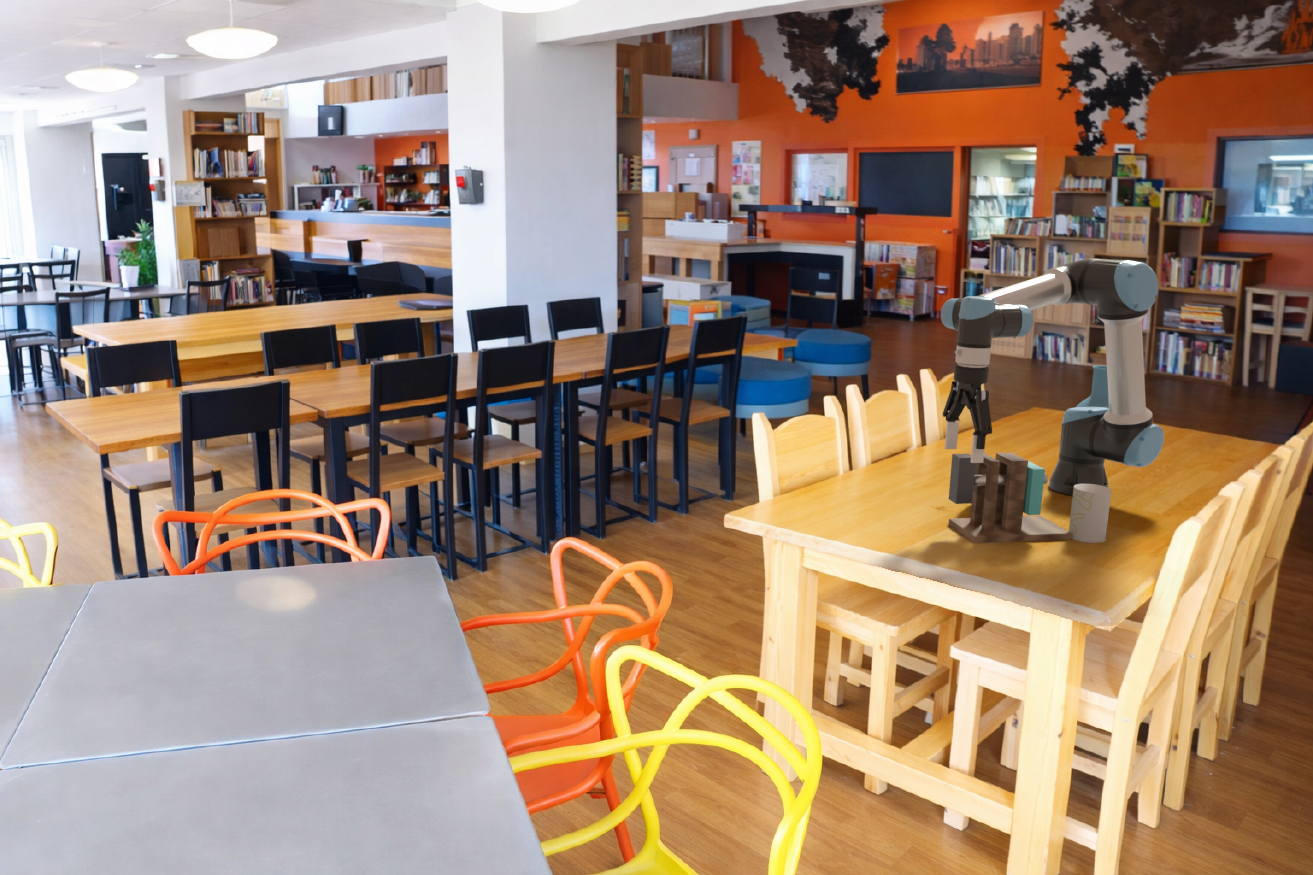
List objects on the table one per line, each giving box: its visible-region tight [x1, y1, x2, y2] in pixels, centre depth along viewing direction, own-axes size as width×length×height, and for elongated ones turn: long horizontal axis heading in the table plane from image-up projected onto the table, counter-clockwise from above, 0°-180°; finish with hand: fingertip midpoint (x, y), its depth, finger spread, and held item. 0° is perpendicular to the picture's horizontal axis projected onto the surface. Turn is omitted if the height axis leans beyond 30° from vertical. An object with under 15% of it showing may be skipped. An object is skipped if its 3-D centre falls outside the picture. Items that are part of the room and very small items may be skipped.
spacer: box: [1023, 460, 1046, 516], centre depth 247 cm, size 3×11×11 cm, turn 9°
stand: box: [948, 452, 1072, 544], centre depth 247 cm, size 24×14×18 cm, turn 100°
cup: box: [1068, 484, 1112, 544], centre depth 245 cm, size 8×8×12 cm
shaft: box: [948, 453, 1049, 505], centre depth 245 cm, size 23×4×11 cm, turn 100°
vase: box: [1075, 365, 1109, 408], centre depth 344 cm, size 16×16×25 cm
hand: (963, 455), depth 242 cm, fingers open, 13 cm apart
